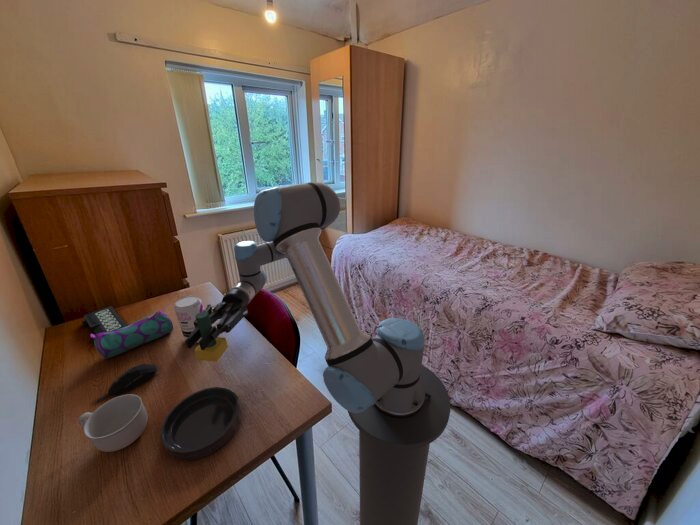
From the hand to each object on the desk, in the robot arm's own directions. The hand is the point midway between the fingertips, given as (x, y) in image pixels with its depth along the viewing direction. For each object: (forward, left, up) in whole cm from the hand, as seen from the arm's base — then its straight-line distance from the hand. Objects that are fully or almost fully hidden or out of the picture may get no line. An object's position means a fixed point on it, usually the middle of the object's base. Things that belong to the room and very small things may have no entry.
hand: (194, 345), depth 74 cm
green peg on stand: (0, -5, -8) cm, 9 cm away
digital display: (+56, -21, -16) cm, 62 cm away
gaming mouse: (+24, +2, -16) cm, 29 cm away
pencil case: (+35, -14, -16) cm, 41 cm away
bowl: (-6, +11, -16) cm, 20 cm away
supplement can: (+17, -20, -16) cm, 31 cm away
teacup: (+13, +16, -16) cm, 26 cm away
